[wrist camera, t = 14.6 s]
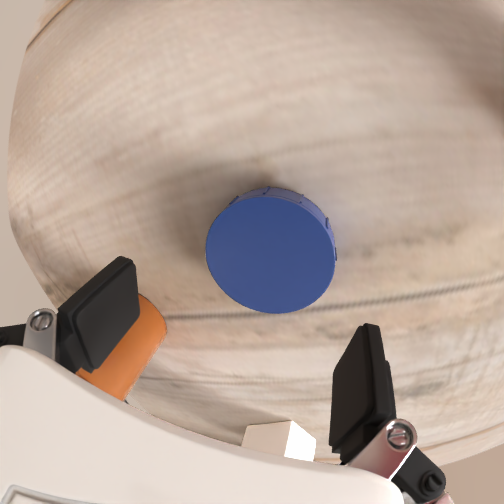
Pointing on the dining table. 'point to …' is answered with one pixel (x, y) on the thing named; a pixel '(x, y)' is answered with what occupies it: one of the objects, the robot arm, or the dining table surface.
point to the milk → (280, 440)
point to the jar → (130, 353)
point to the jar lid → (272, 251)
